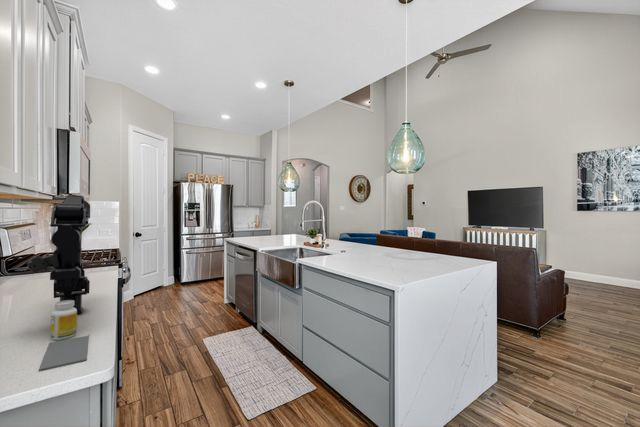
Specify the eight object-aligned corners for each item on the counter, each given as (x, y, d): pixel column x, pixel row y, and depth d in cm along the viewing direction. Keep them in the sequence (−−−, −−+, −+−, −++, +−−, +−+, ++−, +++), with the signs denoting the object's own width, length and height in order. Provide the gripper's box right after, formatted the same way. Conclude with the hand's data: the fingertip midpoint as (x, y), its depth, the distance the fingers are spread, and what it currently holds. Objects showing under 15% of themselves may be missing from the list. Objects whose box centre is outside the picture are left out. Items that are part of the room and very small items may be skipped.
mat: (49, 344, 74) (49, 342, 74) (88, 336, 79) (88, 335, 79) (38, 371, 62) (38, 369, 62) (86, 360, 67) (86, 358, 67)
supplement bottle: (44, 341, 76) (45, 305, 76) (60, 332, 81) (62, 299, 82) (66, 340, 77) (67, 304, 77) (81, 332, 82) (82, 299, 82)
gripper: (36, 243, 88) (35, 294, 88) (24, 250, 73) (22, 311, 73) (83, 242, 95) (82, 289, 95) (80, 248, 80) (78, 303, 80)
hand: (67, 297), depth 86 cm, fingers closed
